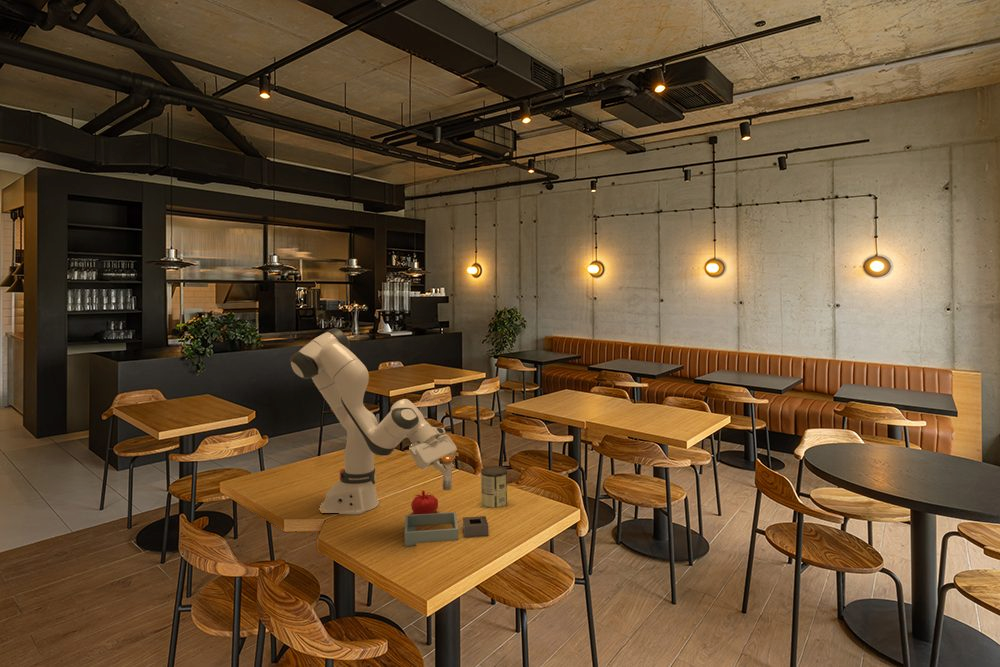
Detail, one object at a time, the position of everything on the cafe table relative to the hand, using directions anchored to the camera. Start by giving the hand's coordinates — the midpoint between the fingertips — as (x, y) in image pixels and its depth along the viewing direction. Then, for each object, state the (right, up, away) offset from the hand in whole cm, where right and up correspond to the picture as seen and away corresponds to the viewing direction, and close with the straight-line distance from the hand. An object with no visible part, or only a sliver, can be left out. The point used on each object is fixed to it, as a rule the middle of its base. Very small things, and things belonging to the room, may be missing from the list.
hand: (448, 470), depth 183 cm
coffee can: (+15, -21, +26) cm, 37 cm away
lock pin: (-1, -7, +1) cm, 7 cm away
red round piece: (-11, -21, +17) cm, 29 cm away
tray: (-6, -22, 0) cm, 23 cm away
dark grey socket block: (+9, -22, 0) cm, 24 cm away
